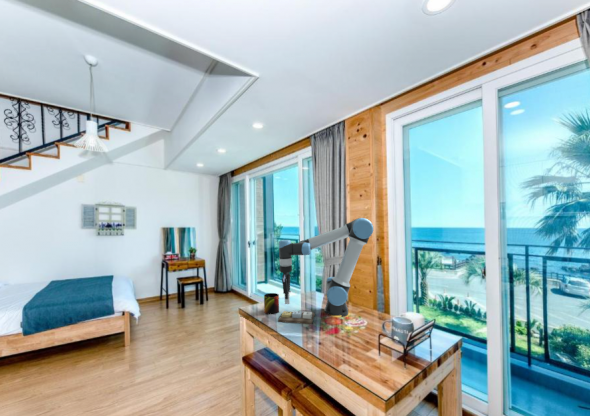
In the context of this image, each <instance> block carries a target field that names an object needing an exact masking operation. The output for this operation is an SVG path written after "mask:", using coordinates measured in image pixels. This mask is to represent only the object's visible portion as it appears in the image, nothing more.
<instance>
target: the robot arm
mask: <svg viewBox="0 0 590 416" xmlns="http://www.w3.org/2000/svg"><path fill="white" fill-rule="evenodd" d="M373 233H374V226H373V222H371V220H369V219H367V218H364V217H358V218H356V219H353V220H352V221H350V222H347V223H344V225H343V226H340V227H338V228H335V229H332V230H329V231H327V232H324V233H321V234H318V235H315V236H313V237H309V238H306V239H304V240H299V242H292V241H291V240H290V239H282V240H280V241H279V242H278V253H279V254H278V255H279V256H278V257H279V260H278V262H279V272H280V273H282V277H281V282H282V291H283V293H282V294H284V305H290V304H291V303H290V299H291V298H290V293H291V274H290V273H291V272H292V271H293V266H292V264H293V259H292V256H308V255H309V256H310V255H311V251H312V250H315V249H317V248H321V247H324V246H326V245H330V244H331V243H335V242H338V241H341V240H344V239H346V238H348V239H349V240H348V243H347V246H346V248H345V251H344V254H343V256H342V259H341V261H340V264H339V267H338V269H337V272H336V274H335V275H334V276H330V277H327V278H326V304H325V307H324V313H326V314H327V315H329V316H341V317H342V318H343V316H344V317H346V316H348V315H349V309H348V305H347V303H346V302H347V300H348V294H349V292H350V288H351V283H350V280H352V279H351V278H352V276H353V273H354V271H355V269H356V265H357V262H358V260H359V257H360V255H361V253H362V250H363V247H364V246H365V245H367V244H368V241H369V239H370V237H371V236H372V235H373Z"/></svg>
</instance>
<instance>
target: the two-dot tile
mask: <svg viewBox="0 0 590 416" xmlns="http://www.w3.org/2000/svg"><path fill="white" fill-rule="evenodd" d="M292 312H293V313H292V318H301V317H302V312H303V311H300V310H293V311H292Z"/></svg>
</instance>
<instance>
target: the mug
mask: <svg viewBox="0 0 590 416" xmlns="http://www.w3.org/2000/svg"><path fill="white" fill-rule="evenodd" d="M263 304H264V305H263V307H264V308H263V310H264V314H265V315H276V314H277V315H278V313H280V295H279V293H276V292H275V293H274V292H269V293H266V294H264V295H263Z"/></svg>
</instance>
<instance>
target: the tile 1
mask: <svg viewBox="0 0 590 416" xmlns="http://www.w3.org/2000/svg"><path fill="white" fill-rule="evenodd" d="M292 312H293V311H288V312H285V310H284V311H283V312H282V313H281V315H282V317H289V318H290V317H291V315H292Z"/></svg>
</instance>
